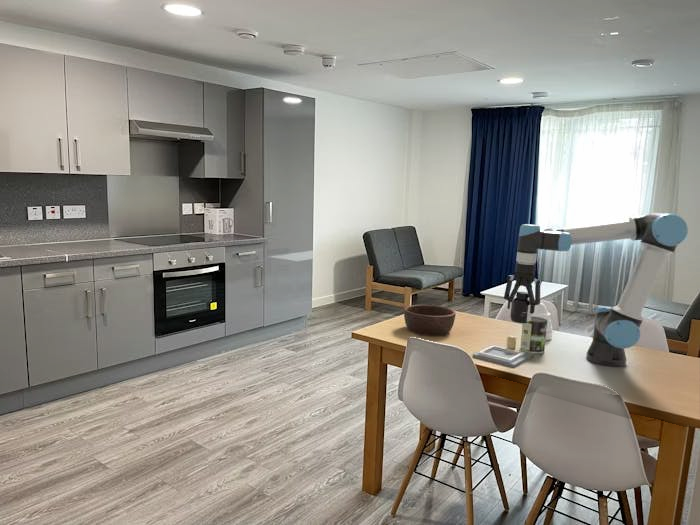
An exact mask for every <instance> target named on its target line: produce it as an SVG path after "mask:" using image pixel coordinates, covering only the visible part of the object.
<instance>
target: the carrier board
mask: <svg viewBox="0 0 700 525" xmlns="http://www.w3.org/2000/svg"><path fill="white" fill-rule="evenodd" d="M516 345H517V336H515V335H507V340H506V346H501V345H497V344H492V345H490V346H488V347H486V348H483V349H481V350H479V351H477V352H474V353H472V358H474V359H479V360H484V361H486V360H487V362H492V363H495V364H498V365H503V366H506V367H510V368H516V367H518V366H519V365H520V366H521V364H523V363H524V361H525V362H527V361H529V360H530V359H532V358H533V357H534V355H535V354H534V353H528V352H524V351H522V350H519V349H516ZM526 360H527V361H526Z"/></svg>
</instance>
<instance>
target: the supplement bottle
mask: <svg viewBox="0 0 700 525" xmlns="http://www.w3.org/2000/svg"><path fill="white" fill-rule="evenodd" d="M528 305H530V301H529V296H528V292H525V291H517V293H516V295H515V297H514V299H513V305H512V313H511V318H510V320H511V322H514V323H518V324H523V323H528V322H527V313H528Z"/></svg>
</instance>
